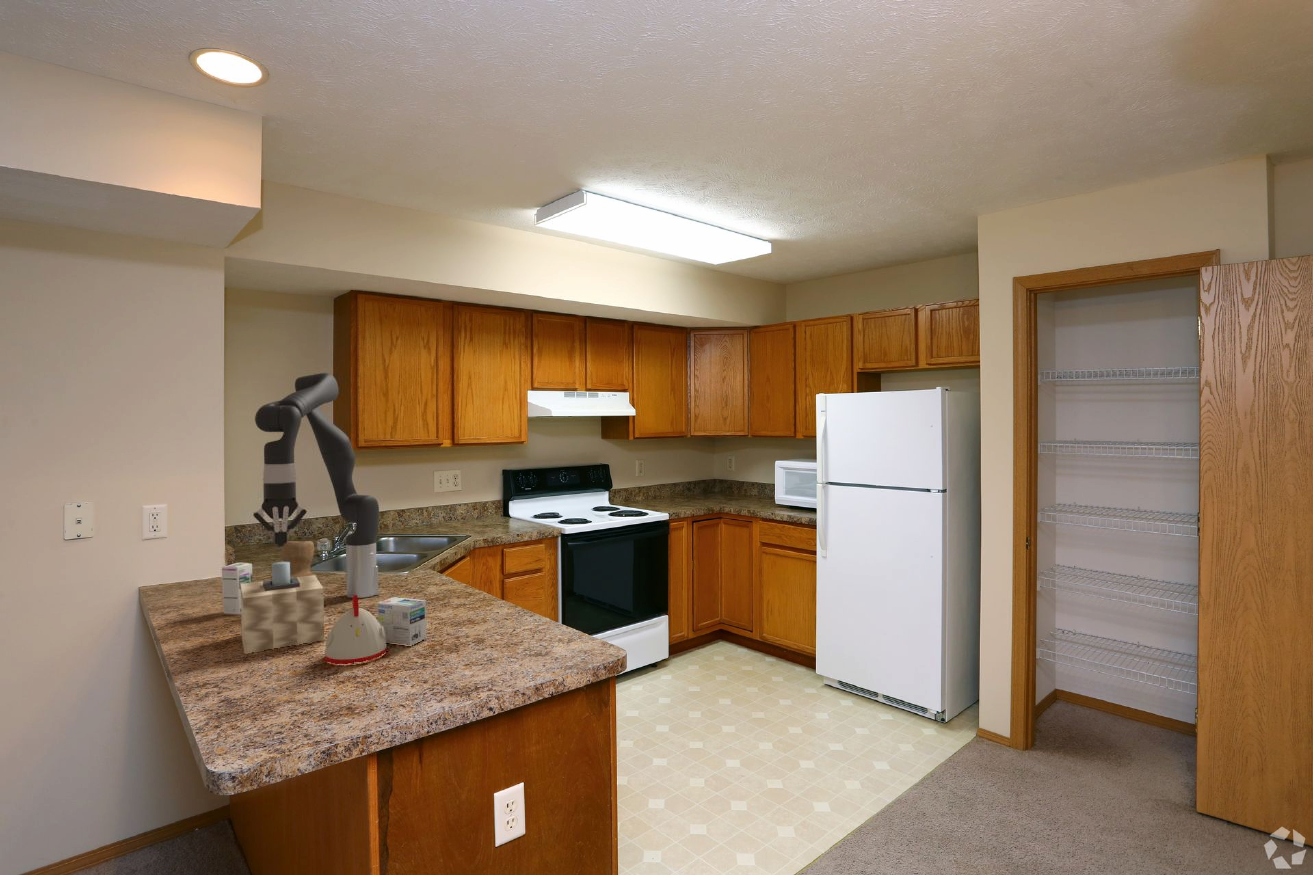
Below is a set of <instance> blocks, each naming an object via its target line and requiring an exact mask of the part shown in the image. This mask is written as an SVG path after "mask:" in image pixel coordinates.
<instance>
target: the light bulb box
mask: <svg viewBox="0 0 1313 875" xmlns="http://www.w3.org/2000/svg"><path fill="white" fill-rule="evenodd" d="M376 604H377V605H376V606H377V607H376V609H377V610H376V612H377V621H378V622H379V623H381V625H382V626H383V627H384V632H385V637H386V638H385V639H386V642H387V643H398V644H406V645H412V644H414V643H416V642H418V641H421V640H422V639H425V638H427V601H426V599H418V598H417V599H415V598H406V597H396V596H394V597H389V598H388V599H385V600H382V601H379V602H377V603H376Z"/></svg>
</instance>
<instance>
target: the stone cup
mask: <svg viewBox="0 0 1313 875" xmlns="http://www.w3.org/2000/svg"><path fill="white" fill-rule="evenodd" d="M314 544H315V543H314V542H313V541H311V540H309V541H306V540H303V541H302V540H301V541H294V540H293V541H292V540H289V541H288V540H287V543H286V544H284V546H281V552H280V553H281V558H282V562H290V578H294V577H302V576H311V575H315V576H316V578H317V579H318V575H317V574H316V573H314V572H312V571H311V564H312V562H313V559H314V556H315V545H314ZM269 580H272V575H271V576H270V578H269Z"/></svg>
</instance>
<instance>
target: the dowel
mask: <svg viewBox="0 0 1313 875" xmlns="http://www.w3.org/2000/svg"><path fill="white" fill-rule="evenodd" d="M271 576H272V585H278V584H286V583H290V562H283V561H279V562H273V563H272V564H271Z"/></svg>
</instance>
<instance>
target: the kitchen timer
mask: <svg viewBox="0 0 1313 875" xmlns="http://www.w3.org/2000/svg"><path fill="white" fill-rule="evenodd" d="M385 638H386V637H385V632H384V627H383V626H382V625H381V623H379V622H378V618H376V617H375V616H374V615H373V614H372V613H371V612H369V611H368V610H366V609H364V608H362V607H361V608H360V605H359V598H358V596H357V595H353V598H352V608H351V609H348V610H347V611H345V612H344V613H342V615H341V616H340V617H339V618H338V619H337V621H336V622H335V623H334V625H333V626H332V629H328V632H327V635H326V641H325V650H324V661H325V660H326V661H327V662H331V663H335V664H348V663H354V662H363V661H366V660H371V659H373V658H377V657H379V656H381V655H382V654H384V653H385V652H386V649H387V646H388V644H386V639H385ZM386 653H387V652H386Z"/></svg>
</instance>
